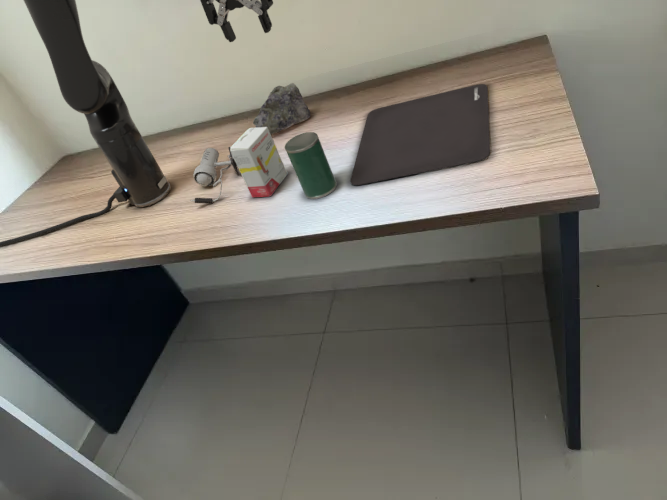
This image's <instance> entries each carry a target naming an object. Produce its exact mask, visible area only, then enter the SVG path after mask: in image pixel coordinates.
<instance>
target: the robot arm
mask: <svg viewBox="0 0 667 500" xmlns="http://www.w3.org/2000/svg"><path fill="white" fill-rule="evenodd" d="M199 1H200V4H201V6H202V8H203V11H204V14H205V17H206V19H207V21H208V23H209V25H211V26H213V25H218V26H219V27H220V29H221V32H222V33H223V36H224V38H225V39H226V41H228V42H229V43H233V42H234V41H235V40H236V39H237V36H236V34H235V31H234V28H233V26H232V24H231V22H230V21H228V19H229V13H230V12H231V11H234V10H235V9H242V8H244V7H246V8H247V9H248V10H252V11H253V12H254V13H255V14H257V17H258V20H259V22H260V25H261V27H262V30H263V32H264V34H268V33H270V32H271V30H272V27H273V23H272V20H271V18H270V15H269V13H268V10H270V8H271V7H272V6H273V5H274V1H273V0H199ZM215 1H216V2H217V3H218V11H217V8H216V6H215V4H214V2H215ZM23 2H24V4H25V6H26V8H27V11H28V13H29V15H30V17H31V20H32V22H33V24H34V26H35V28H36V31H37V32H38V35H39V37H40V38H41V40H42V43H43V44H44V46H45V49H46V51H47V53H48V55H49V59H50V62H51V65H52V69H53V71H54V74H55V77H56V80H57V84H58V87H59V92H60V93H61V96H62V98H63V100H64V101H65V103H66V104H67V105H68V106H69V107H70V108H71V109H73V110H74V111H75V112H77V113H80V114H83V115H84V117H85V118H86V121H87V125H88V129H89V133H90V135H91V137H92V138H93V141H94V142H95V143H96V145H97V146H98V148H99V149H100V151H101V153H102V154H103V156H104V158H105V159H106V161H107V163H108V164H109V165H110V167H111V168H112V169H111V175H112V176H113V178H114V180H115V181H116V183H117V184H118V188H116V190H115V191H114V192H113V193H112V195H111V196H110V197H109V198H108V200H107V203H106V204H107V205H106V207H105V208H103V209H102V210H99V211H97V212H93V213H88V214H83V215H81V216H77V217H74V218H72V219H70V220H66V221H64V222H62V223H58V224H56V225H52V226H50V227H47V228H45V229H41V230H38V231H35V232H31V233H27V234H24V235H21V236H17V237H14V238H10V239H6V240H2V241H0V247H2V246H6V245H10V244H14V243H18V242H22V241H25V240H28V239H31V238H35V237H38V236H42V235H45V234H47V233H50V232H54V231H57V230H60V229H62V228H65V227H68V226H71V225H73V224H76V223H78V222H81V221H84V220H88V219H92V218H93V219H94V218H97V217H100V216H102V215H104V214H106V213H109V211H110V210H111V209H112V207H113V202H114V201H115V199H116V202H117V203H124V202H127V201H128V202H129V204H130V205H131V206H135V207H136V208H145V207H149V206H152V205H155V204H156V203H158V202H160V201H161V200H162V199H164V198H165V197H167V195H168V194H170V191H171V190H172V185H171V183H170V182H169V181H168V178H167V176H166V175H165V174H164V171H162V168H161V167H160V165H159V163H158V161H157V160H156V158H155V157H154V155H153V153H152V151H151V149H150V147H149V146H148V144H147V143H146V141H145V139H144V137H143V135H142V134H141V132H140V131H139V128H138V127H137V126H136V124H135V122H134V120H133V118H132V116H131V113H130V111H129V107H128V105H127V102H125V99H124V97H123V95H122V94H121V92H120V90H119V88H118V86H117V84H116V82H115V80H114V79H113V77H112V76H111V74H110V72H109V71H108V70H107V69H106V67H104V66H103V65H102V64H101V63H99V62H97V61H96V60H94V59H93V60H92V58H91V55H90V53H89V51H88V48H87V45H86V43H85V40H84V37H83V32H82V27H81V22H80V15H79V11H78V5H77V1H76V0H23Z"/></svg>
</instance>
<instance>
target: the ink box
mask: <svg viewBox="0 0 667 500" xmlns="http://www.w3.org/2000/svg"><path fill="white" fill-rule="evenodd" d="M229 147H230V148H231V149H230V151H231V154H232V156H233V158H234V160H235V162H236V164H237V169H238V171H239V173H240V175H241V177H242V179H243V181H244V183H245V185H246V187H247V189H248V191H249V193H250V196H251V198H253V199H254V198H264V197H265V198H267V197H272V195H273V194H274V193H275V191H276V190H277V189H278V187H279V186H280V185H281V183H282V182H283V181H284V180H285V178H286V177H287V175H289V174H288V173H289V172H288V171H287V169H286V167H285V164H284V162H283V160H282V157H281V155H280V153H279V150H278V148H277V145H276V144H275V141H274V139H273V136H272V134H270V132H269V130H268V127H259V128H256V127H250V128H247V129H246V130H245V132H243V133H242V135H240V137H239V138H238V139H237V140H236V141H234V143H233V144H232V145H231V146H229Z"/></svg>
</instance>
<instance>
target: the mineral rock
mask: <svg viewBox="0 0 667 500" xmlns="http://www.w3.org/2000/svg"><path fill="white" fill-rule="evenodd" d="M310 110H311V109H309V106H308V105H307V103H306V102H305V100H304V98H303V95H302V93H301V90H300V88H299V87H298V86H297V85H296V84H295V82H293V83H289V84H287V85H285V86H282V85H277V86H275V87H273V89H272V90H271V91H269V95H268V97H267V99H266V100H265V101H264V102H263V104H262V105H261V107H260V109H259V112H258V114H257V115H256V117H255V118H254V119H253V121H252V124H253V125H254V126H255V127H254V128H259V127H268V130H269V132H270V134H271V135H272V134H276V133H279V132H281V131H284V130H286V129H288V128H290V127H292V126H293V125H296V124H299V123H301V122H304V121H307V120H308V119H310V118H311V111H310Z"/></svg>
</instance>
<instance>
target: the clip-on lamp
mask: <svg viewBox="0 0 667 500" xmlns="http://www.w3.org/2000/svg"><path fill="white" fill-rule="evenodd" d="M230 147H231V146H228V147H227V149H228V152H229V154H228V155H227V157H228V159H229V160H225V161H219V157H220V153H219V151H218V150H217V148H215V147H207V148H205V149H204V151H203V153H202V156H201V160H200V162H199V165H197V166H196V167H195V169H194V171H193V179H194V182H195V183H197V184H198V185H200V186H202V187H211V186H212V187H213V188H215V187H216V186H217V185H218V184H219V183H220V191H219V194H218V197H217V198H215V199H213V198H212V197H194V199H190V202H194V204H210V205H211V204H213V202H217V201H218V200H219V199H220V197H221V195H222V190H223V180H222V178H223V175H224V173H223V171H227V170H229V169H230V168H231V166H232V168H233V170H234V172H235V174H236V175H237V177H240V175H241V174H240V170H239V168H238V166H237V164H236V162H235V160H234V158H233V156H232V154H231V151H230V149H231V148H230ZM225 166H226V167H225ZM217 167H221V169H220V176H219V178H217V177H218V173H217V170H216V168H217ZM217 179H218V180H217Z"/></svg>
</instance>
